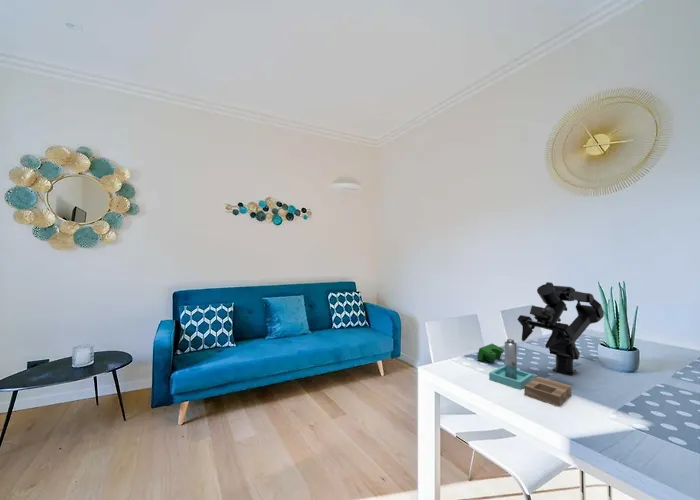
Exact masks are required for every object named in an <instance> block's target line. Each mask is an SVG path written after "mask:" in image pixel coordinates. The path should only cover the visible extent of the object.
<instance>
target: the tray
mask: <svg viewBox="0 0 700 500" xmlns="http://www.w3.org/2000/svg"><path fill="white" fill-rule="evenodd" d="M488 376H489V377H488V379H489V380H490V381H493V382H497V383H499V384H502V385H504V386H505V385H506V386H508V387H511V388H514V389H518V390H520V391H521V390H522V389H524V386H525V385H526V384H528V383H529V382H531V381H532V380H534V375H533V374H532V373H530V372H525V371H523V370H519V369H517V379H516V380H514V379H511V378H508V377H505V365H501V366H499V367H497V368H495V369H493V370H491V371H490V372H489V373H488Z"/></svg>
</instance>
